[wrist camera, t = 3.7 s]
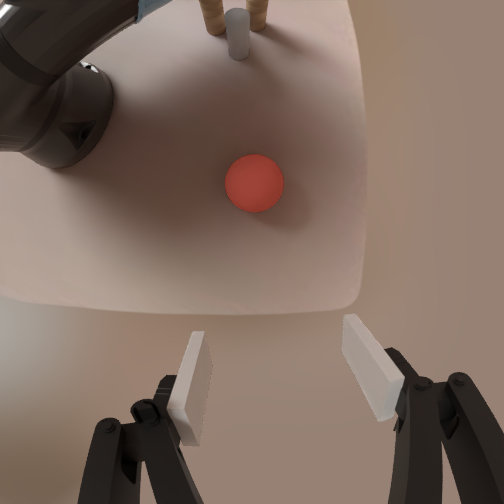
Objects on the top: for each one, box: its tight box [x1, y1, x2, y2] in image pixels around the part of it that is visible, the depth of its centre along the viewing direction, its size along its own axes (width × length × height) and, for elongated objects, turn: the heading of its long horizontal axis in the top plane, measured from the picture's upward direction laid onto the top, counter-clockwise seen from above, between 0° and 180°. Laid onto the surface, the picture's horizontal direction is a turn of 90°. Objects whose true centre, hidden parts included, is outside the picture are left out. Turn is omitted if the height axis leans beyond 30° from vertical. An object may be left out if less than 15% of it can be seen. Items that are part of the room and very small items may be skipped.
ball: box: [225, 154, 284, 212], centre depth 27 cm, size 6×6×6 cm
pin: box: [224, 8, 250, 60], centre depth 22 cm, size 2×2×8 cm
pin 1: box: [199, 0, 226, 35], centre depth 21 cm, size 2×2×8 cm
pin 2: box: [246, 0, 268, 31], centre depth 21 cm, size 2×2×8 cm
